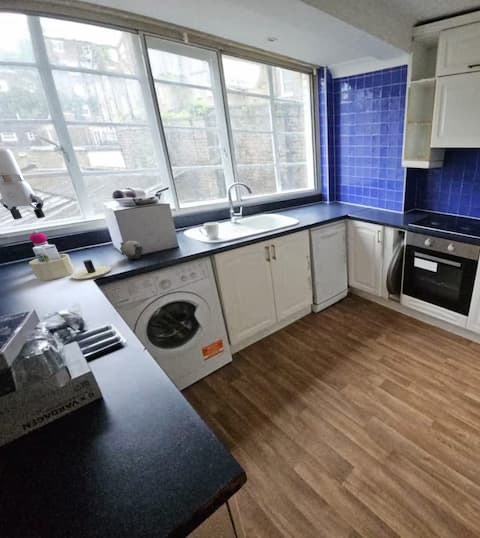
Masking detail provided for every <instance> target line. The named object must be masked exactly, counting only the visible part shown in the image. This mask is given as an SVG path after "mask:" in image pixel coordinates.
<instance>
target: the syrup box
mask: <svg viewBox="0 0 480 538" xmlns="http://www.w3.org/2000/svg"><path fill="white" fill-rule="evenodd" d="M32 250H33V252H34V254H35V257H36V259H38V261H39V263H46V262H51V261H55V260H59V259H61V258H60V256H59V254H60V253H59V252H58V249H57V247H56V245H55V244H48V245H40V246H36V247H35V246H33V247H32Z"/></svg>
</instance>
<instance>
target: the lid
mask: <svg viewBox="0 0 480 538" xmlns="http://www.w3.org/2000/svg"><path fill="white" fill-rule="evenodd" d="M82 263H83V265H84V267H85V269H82V270H80V271H78V272H74V273H73V275H71V278H72V279H73V280H86V279H92V278H96V277H100V276H103V275H105V274H108V273H109V272H110V271H111V270H112V267H111V266H105V265H104V266H95V265H94V263H93V261H92V259H85V260H83V261H82Z"/></svg>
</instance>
